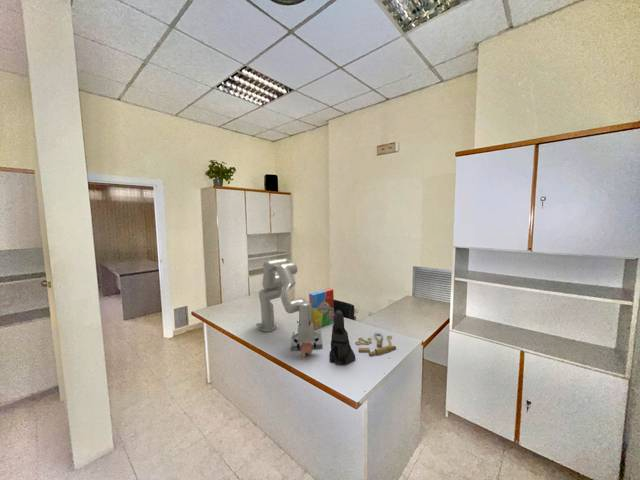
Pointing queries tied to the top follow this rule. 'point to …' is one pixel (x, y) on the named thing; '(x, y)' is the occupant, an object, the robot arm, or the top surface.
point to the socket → (318, 343)
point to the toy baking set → (379, 343)
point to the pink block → (306, 348)
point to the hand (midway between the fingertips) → (306, 348)
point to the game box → (322, 308)
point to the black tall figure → (340, 342)
